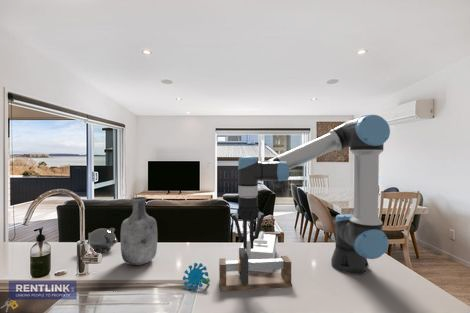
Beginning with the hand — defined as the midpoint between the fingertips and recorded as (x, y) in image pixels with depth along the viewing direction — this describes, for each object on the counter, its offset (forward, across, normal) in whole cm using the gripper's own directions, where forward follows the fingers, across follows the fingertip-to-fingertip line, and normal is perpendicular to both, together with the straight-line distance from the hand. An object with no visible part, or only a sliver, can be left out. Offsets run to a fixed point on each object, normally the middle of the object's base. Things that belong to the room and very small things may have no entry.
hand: (248, 256), depth 104 cm
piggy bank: (+10, +70, -41) cm, 82 cm away
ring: (+8, +2, 0) cm, 8 cm away
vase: (+10, +48, -24) cm, 54 cm away
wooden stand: (+10, -2, 0) cm, 11 cm away
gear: (+11, +20, 0) cm, 23 cm away
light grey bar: (+5, -2, 0) cm, 6 cm away
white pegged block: (+11, -8, -22) cm, 26 cm away
